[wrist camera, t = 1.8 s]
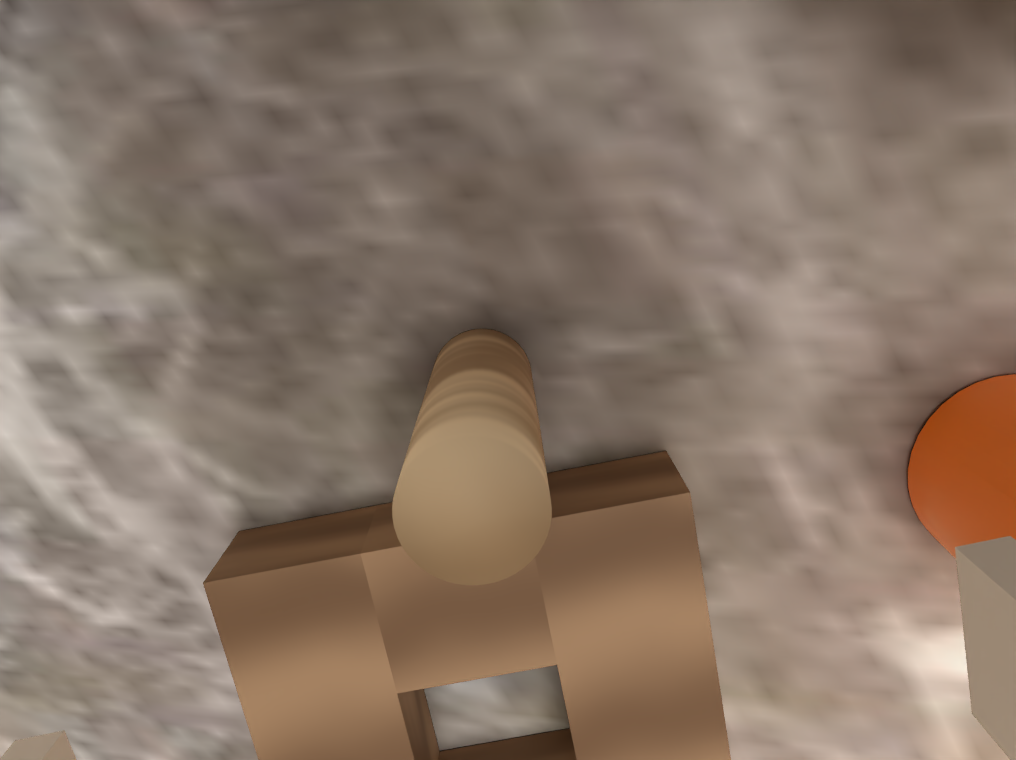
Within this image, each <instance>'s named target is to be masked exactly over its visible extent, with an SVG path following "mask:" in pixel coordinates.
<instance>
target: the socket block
mask: <svg viewBox="0 0 1016 760" xmlns="http://www.w3.org/2000/svg"><path fill="white" fill-rule="evenodd" d="M547 478H548V485H549V491H550V498H551V506H552V518H551V524H550V529H549V532H548V536H547V538H546V540H545V542H544V545H543V546H542V548H541V549H540V551H539V553H538V554H537V555H536V556H535V557H534V559H533V560H532V561H531V562H530V563H529V564H528V565H527V566H525V567H524V568H523V569H522V570H520V571H519V572H517V573H516V574H514V575H512V576H510V577H508V578H506V579H503V580H501V581H498V582H494V583H490V584H484V585H461V584H455V583H451V582H447V581H444V580H441V579H439V578H437V577H435V576H433V575H431V574H429V573H427V572H426V571H425V570H423V569H422V568H420V567H419V566H418V565H417V564H416V563H415V562H414V561H413V560H412V559H411V558H410V557H409V556H408V555H407V553H406V552H405V550H404V549H403V547H402V546H401V544H400V542H399V540H398V538H397V535H396V532H395V529H394V524H393V518H392V505H393V502H392V503H387V504H381V505H376V506H371V507H365V508H360V509H355V510H349V511H344V512H339V513H333V514H328V515H323V516H318V517H312V518H307V519H302V520H296V521H291V522H286V523H280V524H275V525H270V526H264V527H259V528H254V529H248V530H243V531H239V532H238V533H237V535H236V536H235V538H234V539H233V541H232V542H231V544H230V545H229V546H228V548H227V549H226V551H225V552H224V554H223V555H222V556H221V558H220V559H219V561H218V562H217V564H216V565H215V567H214V568H213V569H212V571H211V572H210V574H209V575H208V577H207V578H206V580H205V581H204V582H203V584H204V588H205V591H206V594H207V597H208V600H209V603H210V607H211V610H212V613H213V616H214V619H215V623H216V626H217V629H218V632H219V635H220V638H221V642H222V645H223V648H224V651H225V654H226V657H227V661H228V664H229V667H230V670H231V673H232V677H233V680H234V683H235V686H236V689H237V692H238V696H239V699H240V702H241V705H242V708H243V712H244V715H245V718H246V721H247V724H248V727H249V731H250V734H251V737H252V740H253V743H254V747H255V750H256V753H257V756H258V759H259V760H731V757H730V751H729V744H728V738H727V731H726V725H725V718H724V711H723V705H722V698H721V692H720V685H719V679H718V672H717V666H716V659H715V653H714V646H713V639H712V633H711V626H710V620H709V613H708V607H707V600H706V594H705V587H704V581H703V574H702V567H701V561H700V554H699V548H698V541H697V535H696V528H695V522H694V515H693V509H692V502H691V495H690V491H689V490H688V488H687V486H686V484H685V483H684V481H683V479H682V477H681V476H680V474H679V472H678V471H677V469H676V467H675V465H674V464H673V462H672V460H671V458H670V457H669V455H668V453H667V451H663V452H658V453H652V454H647V455H642V456H636V457H631V458H626V459H620V460H615V461H610V462H604V463H599V464H594V465H589V466H583V467H578V468H573V469H567V470H562V471H557V472H551V473H547ZM553 665H557V667H558V671H559V676H560V681H561V686H562V691H563V696H564V701H565V705H566V710H567V715H568V720H569V725H570V729H564V730H559V731H553V732H547V733H542V734H536V735H530V736H525V737H519V738H513V739H508V740H502V741H496V742H491V743H485V744H479V745H474V746H468V747H462V748H457V749H451V750H445V751H440V752H439V748H438V744H437V740H436V736H435V732H434V728H433V724H432V720H431V716H430V712H429V708H428V704H427V700H426V696H425V692H424V689H425V688H430V687H436V686H442V685H447V684H453V683H458V682H464V681H469V680H475V679H481V678H486V677H492V676H497V675H503V674H508V673H514V672H520V671H525V670H531V669H536V668H542V667H547V666H553Z"/></svg>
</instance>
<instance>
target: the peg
mask: <svg viewBox="0 0 1016 760" xmlns="http://www.w3.org/2000/svg"><path fill="white" fill-rule="evenodd" d="M392 518H393V524H394V529H395V532H396V535H397V538H398V540H399V542H400V544H401V546H402V547H403V549H404V550H405V552H406V553H407V555H408V556H409V557H410V558H411V559H412V560H413V561H414V562H415V563H416V564H417V565H418V566H419V567H420V568H422V569H423V570H425V571H426V572H427V573H429V574H431V575H433V576H435V577H437V578H439V579H441V580H444V581H447V582H451V583H455V584H461V585H484V584H490V583H494V582H498V581H501V580H503V579H506V578H508V577H510V576H512V575H514V574H516V573H517V572H519V571H520V570H522V569H523V568H524V567H525V566H527V565H528V564H529V563H530V562H531V561H532V560H533V559H534V557H535V556H536V555H537V554H538V553H539V551H540V549H541V548H542V546H543V545H544V542H545V540H546V538H547V536H548V532H549V529H550V524H551V518H552V506H551V498H550V491H549V485H548V478H547V472H546V465H545V459H544V452H543V445H542V439H541V432H540V426H539V419H538V412H537V406H536V399H535V393H534V386H533V379H532V373H531V367H530V363H529V360H528V358H527V356H526V354H525V352H524V351H523V349H522V348H521V347H520V345H519V344H518V343H517V342H516V341H514V340H513V339H512V338H510V337H509V336H507V335H505V334H503V333H501V332H498V331H495V330H490V329H474V330H469V331H466V332H463V333H461V334H459V335H457V336H455V337H454V338H452V339H451V340H450V341H449V342H448V343H447V344H446V345H445V346H444V347H443V348H442V349H441V351H440V353H439V354H438V356H437V359H436V361H435V364H434V367H433V370H432V374H431V377H430V380H429V383H428V386H427V390H426V393H425V396H424V399H423V403H422V406H421V409H420V412H419V415H418V419H417V422H416V425H415V428H414V431H413V435H412V438H411V441H410V444H409V448H408V451H407V454H406V457H405V460H404V464H403V467H402V470H401V473H400V476H399V480H398V483H397V486H396V489H395V493H394V497H393V505H392Z"/></svg>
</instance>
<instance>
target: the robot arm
mask: <svg viewBox="0 0 1016 760" xmlns="http://www.w3.org/2000/svg"><path fill="white" fill-rule="evenodd" d="M955 553H956V563H957V572H958V582H959V592H960V601H961V611H962V621H963V631H964V640H965V650H966V660H967V670H968V679H969V689H970V699H971V708H972V714H973V716H974V717H975V718H976V719H977V720H978V722H979V723H980V724H981V725H982V726H983V728H984V729H985V730H986V731H987V732H988V733H989V735H990V736H991V737H992V738H993V739H994V741H995V742H996V743H997V744H998V745H999V747H1000V748H1001V749H1002V750H1003V751H1004V753H1005V754H1006V755H1007V756H1008V757H1009V759H1010V760H1016V540H1015V539H1014V538H1012V537H1011V536H1007V537H1002V538H997V539H992V540H987V541H982V542H977V543H973V544H968V545H963V546H958V547H955ZM0 760H76V757H75V755H74V753H73V750H72V748H71V745H70V743H69V741H68V738H67V736H66V733H65V731H59V732H54V733H49V734H45V735H40V736H35V737H30V738H25V739H20V740H15V741H14V743H13V744H12V745H11V746H10V747H9V749H8V750H7V751H6V752H5V753H4V755H3V756H2V757H1V758H0Z"/></svg>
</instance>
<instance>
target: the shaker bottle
mask: <svg viewBox="0 0 1016 760" xmlns="http://www.w3.org/2000/svg"><path fill="white" fill-rule="evenodd" d="M908 489H909V493H910V498H911V502H912V505H913V507H914V510H915V512H916V514H917V516H918V518H919V520H920V521H921V522H922V524H923V525H924V526H925V527H926V529H927V530H928V531H929V532H930V534H931V535H932V536H933V537H934V538H935V539H936V540H937V541H938V542H939V543H940V544H941V545H942V546H943V547H944V548H945V549H946V550H947V551H948V552H949V553H950V554H951V555H952V556H953V557H954V558H955V559H956V553H955V547H958V546H963V545H968V544H973V543H977V542H982V541H987V540H992V539H997V538H1002V537H1007V536H1011V537H1012V538H1014V539H1015V540H1016V374H1012V375H1004V376H996V377H993V378H989V379H986V380H983V381H980V382H977V383H975V384H973V385H971V386H969V387H967V388H965V389H963V390H961V391H959V392H958V393H956V394H955V395H954V396H952V397H951V398H950V399H948V400H947V401H946V402H944V403H943V404H942V405H941V406H940V407H939V408H938V409H937V410H936V412H935V413H934V414H933V415H932V416H931V417H930V418H929V419H928V421H927V422H926V424H925V425H924V427H923V429H922V430H921V432H920V433H919V435H918V437H917V440H916V442H915V445H914V447H913V449H912V452H911V457H910V462H909V467H908Z"/></svg>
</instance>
